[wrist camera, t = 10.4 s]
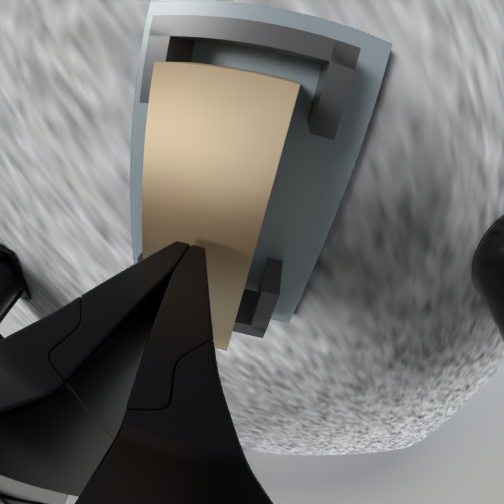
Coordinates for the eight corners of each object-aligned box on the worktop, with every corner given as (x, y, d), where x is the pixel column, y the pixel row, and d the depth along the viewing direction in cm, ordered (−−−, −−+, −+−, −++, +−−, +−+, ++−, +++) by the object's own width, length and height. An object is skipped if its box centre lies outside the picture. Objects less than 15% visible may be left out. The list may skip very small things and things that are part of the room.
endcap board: (289, 311, 18) (286, 356, 15) (141, 272, 18) (118, 310, 15) (384, 45, 8) (415, 37, 6) (160, 4, 8) (119, -9, 6)
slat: (245, 274, 15) (226, 350, 11) (183, 258, 15) (147, 327, 11) (297, 81, 9) (299, 84, 5) (210, 64, 9) (154, 61, 5)
